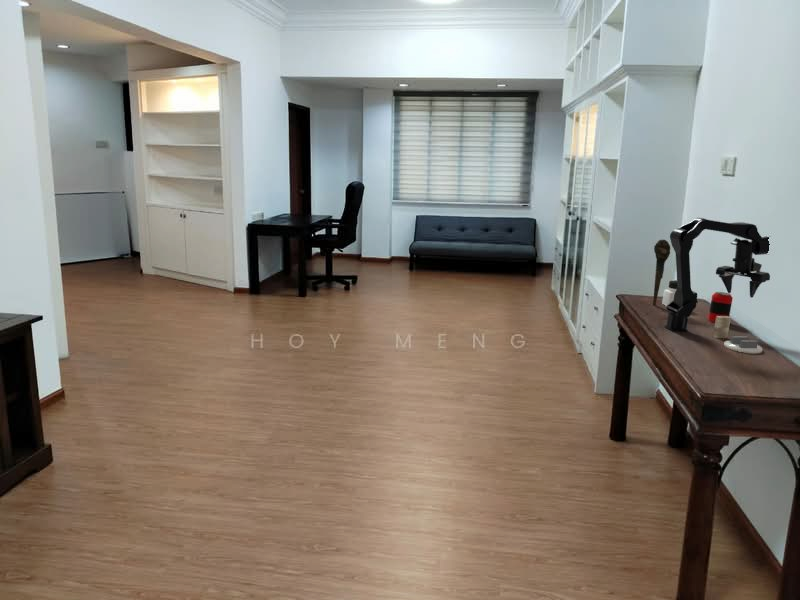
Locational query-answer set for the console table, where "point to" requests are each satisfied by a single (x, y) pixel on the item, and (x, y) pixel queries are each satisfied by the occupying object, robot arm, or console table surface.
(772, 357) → the console table surface
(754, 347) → the dish
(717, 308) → the soda can
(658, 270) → the decorative torch
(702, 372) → the console table surface
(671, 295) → the medicine bottle
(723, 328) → the block
